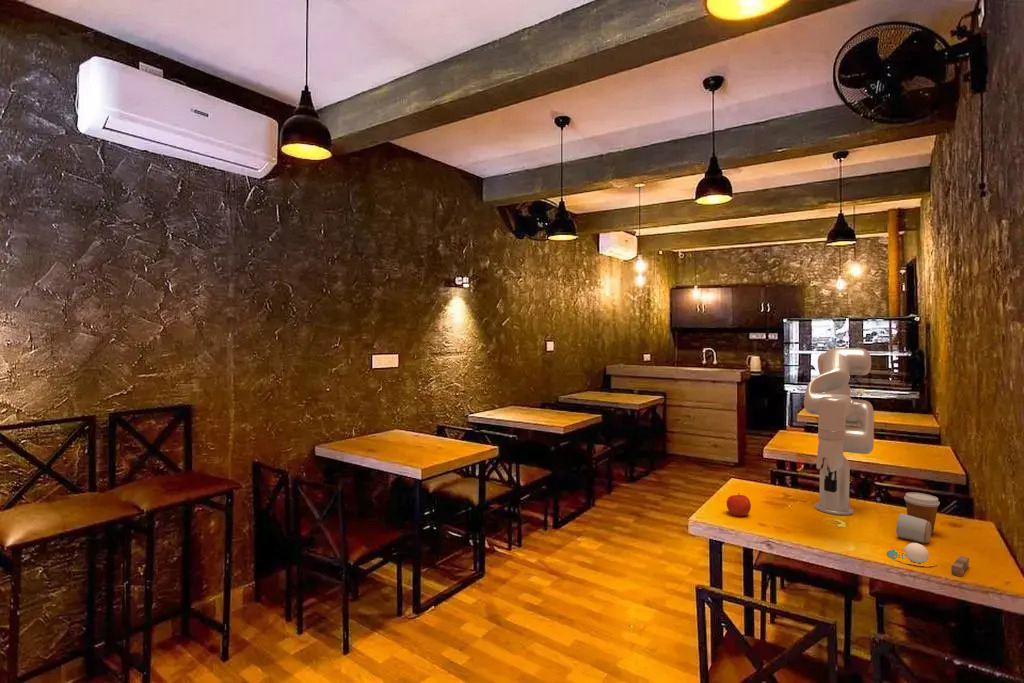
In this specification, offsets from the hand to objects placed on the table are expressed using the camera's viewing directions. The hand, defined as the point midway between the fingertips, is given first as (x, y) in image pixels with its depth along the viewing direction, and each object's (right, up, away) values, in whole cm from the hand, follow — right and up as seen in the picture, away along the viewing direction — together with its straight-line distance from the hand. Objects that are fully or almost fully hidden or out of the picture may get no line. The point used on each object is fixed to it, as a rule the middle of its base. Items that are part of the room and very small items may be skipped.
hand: (830, 491), depth 176 cm
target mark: (+14, -15, -17) cm, 27 cm away
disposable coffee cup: (+33, -15, +5) cm, 36 cm away
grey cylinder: (+26, -15, -1) cm, 30 cm away
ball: (+13, -13, -20) cm, 27 cm away
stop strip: (+22, -15, -24) cm, 36 cm away
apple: (-21, -14, +20) cm, 33 cm away
